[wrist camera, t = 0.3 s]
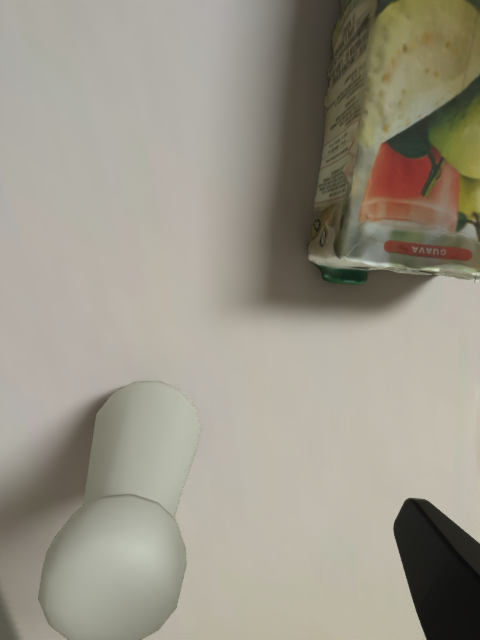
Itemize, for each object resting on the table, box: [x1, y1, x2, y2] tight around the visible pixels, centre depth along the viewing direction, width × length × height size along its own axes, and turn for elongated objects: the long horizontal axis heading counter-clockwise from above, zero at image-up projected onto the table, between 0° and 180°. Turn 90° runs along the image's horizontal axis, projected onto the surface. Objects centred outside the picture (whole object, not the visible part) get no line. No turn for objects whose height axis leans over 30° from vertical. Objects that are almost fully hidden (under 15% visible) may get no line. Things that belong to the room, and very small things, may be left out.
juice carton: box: [307, 0, 480, 285], centre depth 19 cm, size 20×10×6 cm, turn 175°
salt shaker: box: [38, 381, 201, 640], centre depth 17 cm, size 6×6×13 cm
